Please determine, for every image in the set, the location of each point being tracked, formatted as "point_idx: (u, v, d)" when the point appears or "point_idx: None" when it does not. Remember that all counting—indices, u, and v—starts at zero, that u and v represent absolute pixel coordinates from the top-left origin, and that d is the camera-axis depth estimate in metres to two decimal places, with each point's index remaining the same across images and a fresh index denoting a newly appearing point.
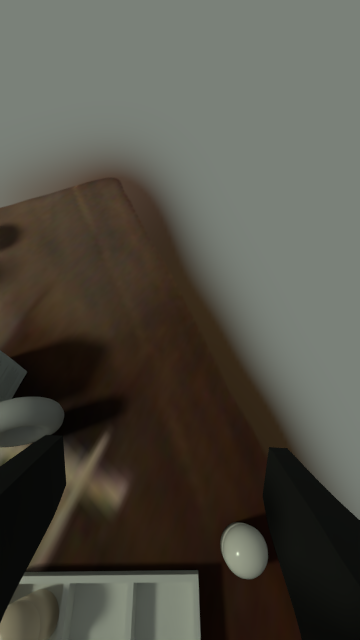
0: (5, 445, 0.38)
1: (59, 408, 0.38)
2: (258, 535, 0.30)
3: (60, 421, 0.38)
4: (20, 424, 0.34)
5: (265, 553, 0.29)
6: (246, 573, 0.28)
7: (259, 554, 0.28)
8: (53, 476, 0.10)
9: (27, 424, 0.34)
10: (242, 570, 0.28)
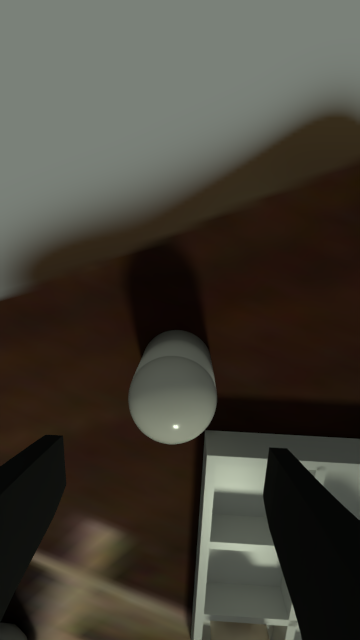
0: None
1: None
2: (144, 382, 0.14)
3: None
4: None
5: (176, 374, 0.14)
6: (205, 420, 0.14)
7: (174, 395, 0.13)
8: (53, 476, 0.10)
9: None
10: (199, 427, 0.14)
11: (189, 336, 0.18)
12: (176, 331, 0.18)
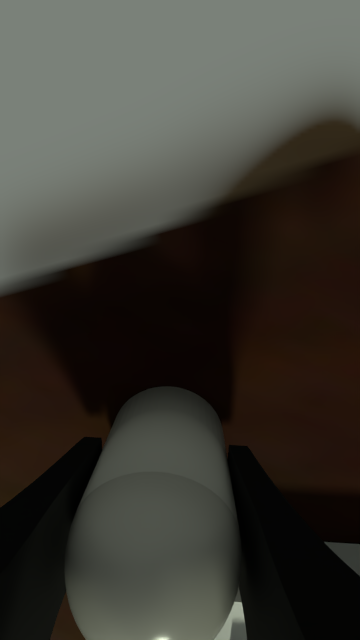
0: None
1: None
2: (90, 545, 0.06)
3: None
4: None
5: (157, 533, 0.06)
6: (221, 624, 0.06)
7: (153, 594, 0.06)
8: None
9: None
10: None
11: (188, 400, 0.11)
12: (167, 391, 0.11)
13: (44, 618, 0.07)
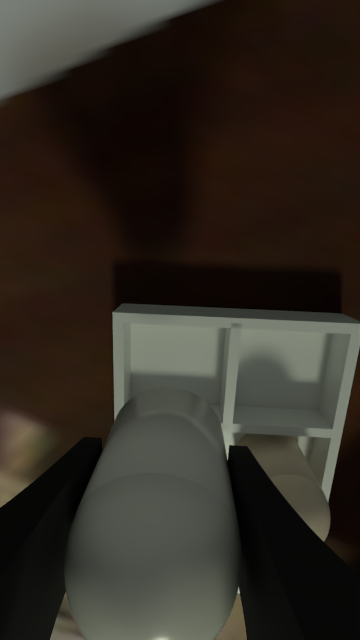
0: None
1: None
2: (89, 547, 0.06)
3: None
4: None
5: (157, 535, 0.06)
6: (221, 625, 0.06)
7: (153, 595, 0.06)
8: None
9: None
10: None
11: (188, 401, 0.11)
12: (166, 392, 0.11)
13: (44, 618, 0.07)
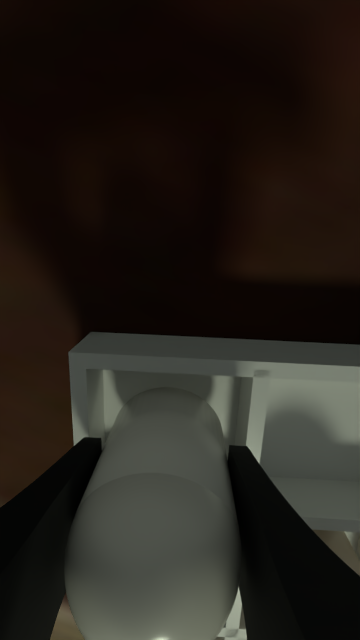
0: None
1: None
2: (89, 547, 0.06)
3: None
4: None
5: (157, 534, 0.06)
6: (221, 625, 0.06)
7: (153, 595, 0.06)
8: None
9: None
10: None
11: (188, 401, 0.11)
12: (166, 392, 0.11)
13: (44, 618, 0.07)
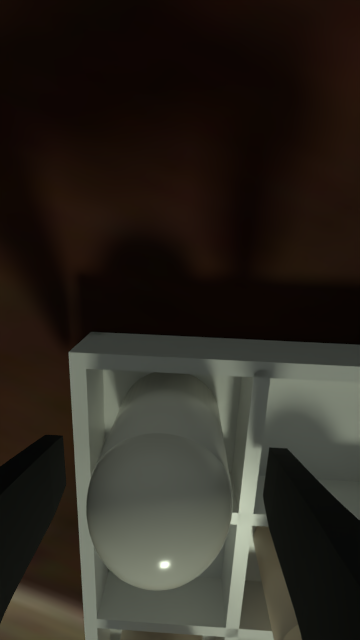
0: None
1: None
2: (108, 488, 0.08)
3: None
4: None
5: (163, 477, 0.08)
6: (214, 552, 0.08)
7: (160, 522, 0.07)
8: (53, 476, 0.10)
9: None
10: (205, 566, 0.08)
11: (188, 382, 0.12)
12: (169, 374, 0.13)
13: None
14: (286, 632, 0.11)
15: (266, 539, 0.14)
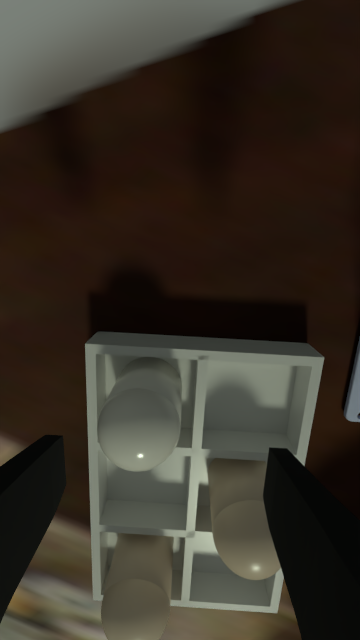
0: None
1: None
2: (110, 415, 0.15)
3: None
4: None
5: (139, 408, 0.14)
6: (167, 450, 0.15)
7: (137, 429, 0.14)
8: (53, 476, 0.10)
9: None
10: (162, 457, 0.15)
11: (160, 363, 0.19)
12: (148, 359, 0.19)
13: None
14: (216, 515, 0.18)
15: (213, 471, 0.21)
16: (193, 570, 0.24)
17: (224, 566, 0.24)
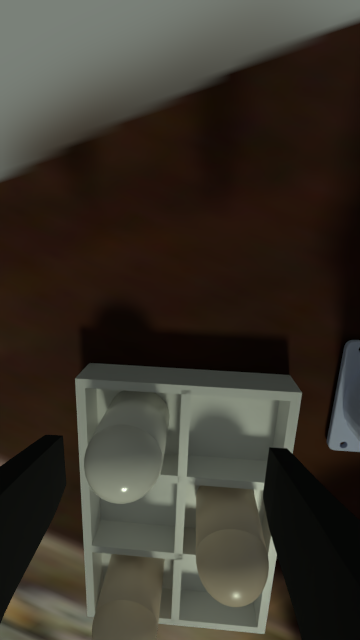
0: None
1: None
2: (94, 451, 0.16)
3: None
4: None
5: (121, 445, 0.16)
6: (148, 484, 0.16)
7: (118, 466, 0.15)
8: (53, 476, 0.10)
9: None
10: (143, 491, 0.16)
11: (147, 395, 0.20)
12: None
13: None
14: (199, 542, 0.18)
15: (200, 496, 0.22)
16: (184, 589, 0.25)
17: None
